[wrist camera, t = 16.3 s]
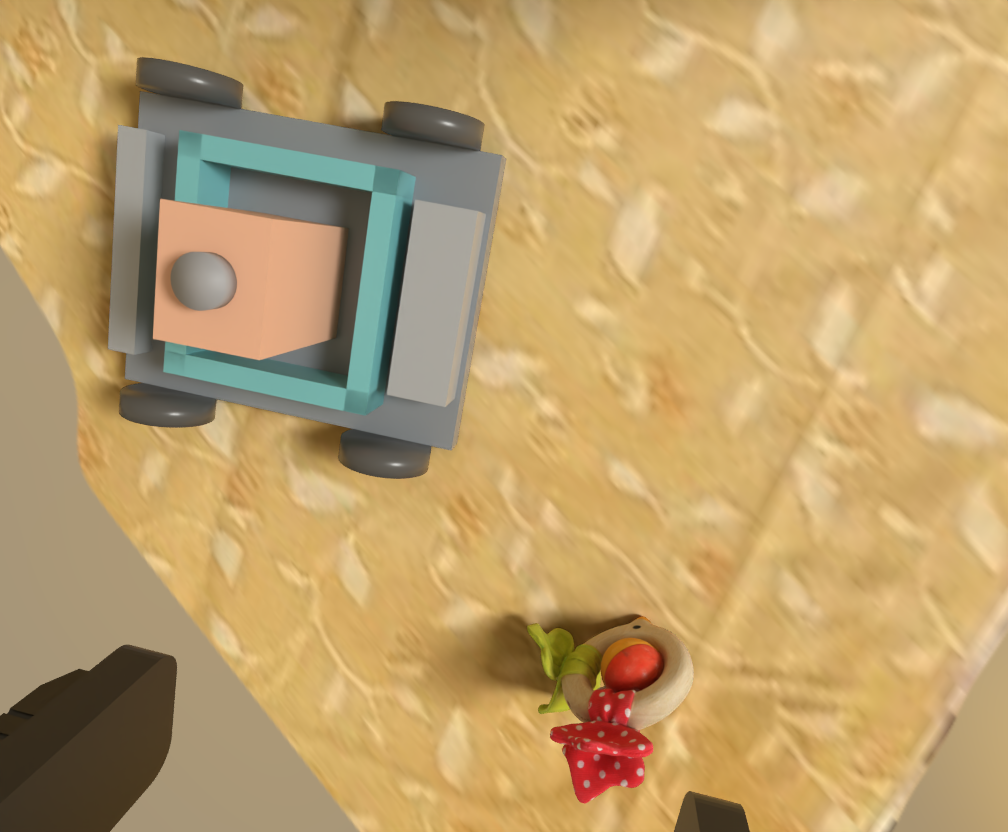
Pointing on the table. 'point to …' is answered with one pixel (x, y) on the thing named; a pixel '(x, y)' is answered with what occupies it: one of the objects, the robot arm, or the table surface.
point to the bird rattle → (612, 698)
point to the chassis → (367, 272)
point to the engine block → (246, 280)
